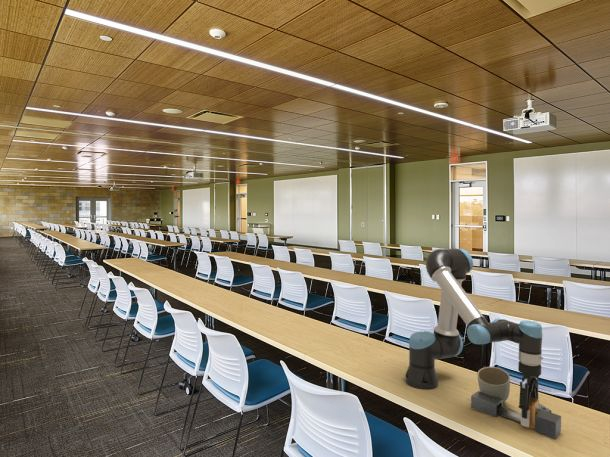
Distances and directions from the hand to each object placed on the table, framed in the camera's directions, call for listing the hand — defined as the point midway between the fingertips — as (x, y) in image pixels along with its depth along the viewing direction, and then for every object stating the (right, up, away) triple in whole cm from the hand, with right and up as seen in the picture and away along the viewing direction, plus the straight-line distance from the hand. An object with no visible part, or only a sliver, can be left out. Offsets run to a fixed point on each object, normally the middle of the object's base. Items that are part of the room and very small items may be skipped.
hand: (528, 422), depth 146 cm
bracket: (+11, -2, +13) cm, 17 cm away
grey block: (-11, -1, +11) cm, 16 cm away
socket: (+4, -1, -5) cm, 7 cm away
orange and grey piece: (-1, -1, +1) cm, 2 cm away
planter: (-4, +1, +19) cm, 19 cm away
